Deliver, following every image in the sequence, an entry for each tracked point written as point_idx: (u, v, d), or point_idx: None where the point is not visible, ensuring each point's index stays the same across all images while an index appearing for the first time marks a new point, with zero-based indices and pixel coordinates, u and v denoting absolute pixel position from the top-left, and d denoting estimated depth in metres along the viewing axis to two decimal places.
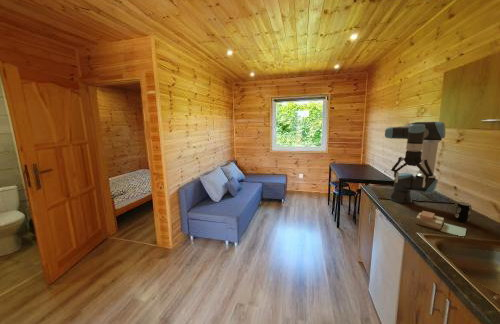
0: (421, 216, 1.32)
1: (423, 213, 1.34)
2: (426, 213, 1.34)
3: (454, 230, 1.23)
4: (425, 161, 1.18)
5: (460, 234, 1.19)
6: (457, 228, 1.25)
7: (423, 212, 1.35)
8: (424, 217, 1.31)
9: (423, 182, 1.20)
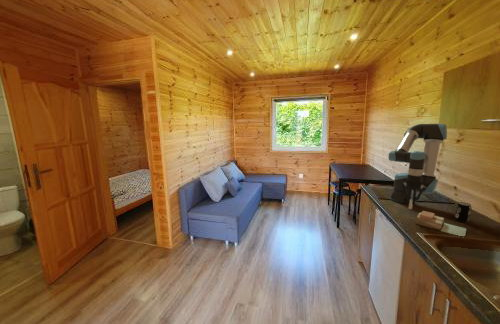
0: (421, 216, 1.32)
1: (423, 213, 1.34)
2: (426, 213, 1.34)
3: (454, 230, 1.23)
4: (423, 188, 1.32)
5: (460, 234, 1.19)
6: (457, 228, 1.25)
7: (423, 212, 1.35)
8: (424, 217, 1.31)
9: (410, 204, 1.38)
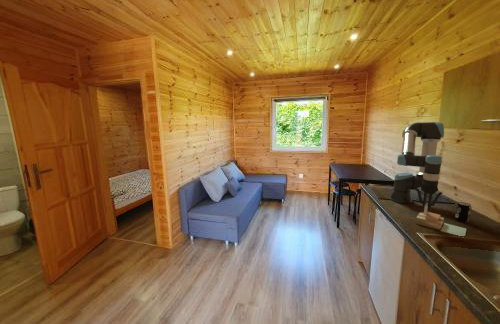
0: (426, 217, 1.30)
1: (429, 214, 1.32)
2: (432, 214, 1.32)
3: (454, 230, 1.23)
4: (440, 193, 1.26)
5: (460, 234, 1.19)
6: (457, 228, 1.25)
7: (429, 213, 1.33)
8: (430, 218, 1.29)
9: (425, 210, 1.32)
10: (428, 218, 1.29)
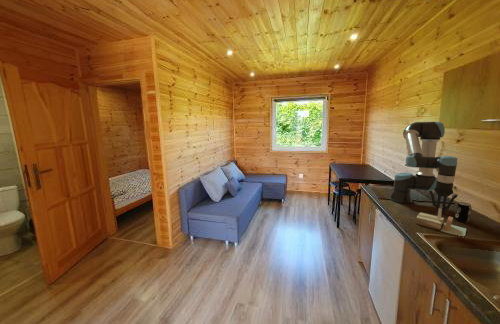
0: (448, 222, 1.22)
1: (451, 221, 1.24)
2: (451, 223, 1.25)
3: (454, 230, 1.23)
4: (455, 196, 1.21)
5: (460, 234, 1.19)
6: (457, 228, 1.25)
7: None
8: (447, 225, 1.23)
9: (439, 214, 1.27)
10: (448, 223, 1.23)
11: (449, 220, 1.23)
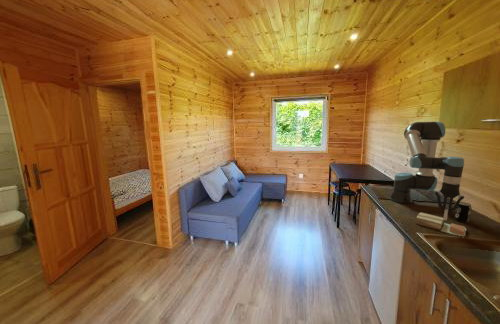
0: (461, 233, 1.19)
1: None
2: None
3: None
4: (461, 197, 1.19)
5: (460, 234, 1.19)
6: None
7: None
8: (457, 231, 1.20)
9: (446, 215, 1.25)
10: (459, 232, 1.19)
11: (463, 232, 1.19)
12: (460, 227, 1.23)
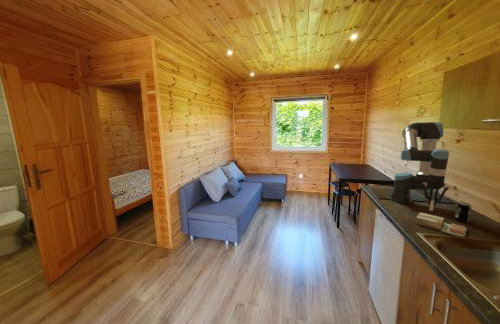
0: (461, 233, 1.19)
1: None
2: None
3: None
4: (446, 189, 1.24)
5: (460, 234, 1.19)
6: None
7: None
8: (457, 231, 1.20)
9: (431, 206, 1.30)
10: (459, 232, 1.19)
11: (463, 232, 1.19)
12: (460, 227, 1.23)
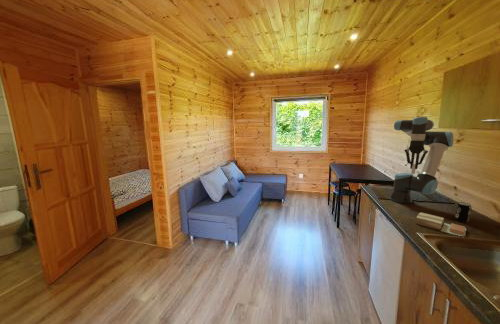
0: (461, 233, 1.19)
1: None
2: None
3: None
4: (425, 152, 1.36)
5: (460, 234, 1.19)
6: None
7: None
8: (457, 231, 1.20)
9: (413, 169, 1.42)
10: (459, 232, 1.19)
11: (463, 232, 1.19)
12: (460, 227, 1.23)
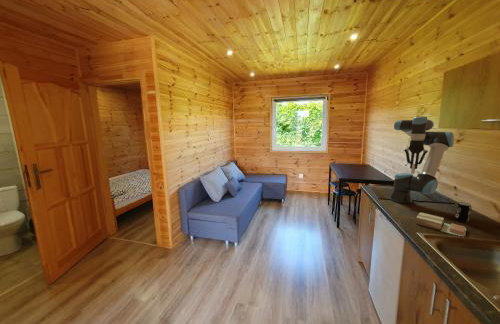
0: (461, 233, 1.19)
1: None
2: None
3: None
4: (425, 152, 1.36)
5: (460, 234, 1.19)
6: None
7: None
8: (457, 231, 1.20)
9: (413, 169, 1.42)
10: (459, 232, 1.19)
11: (463, 232, 1.19)
12: (460, 227, 1.23)
